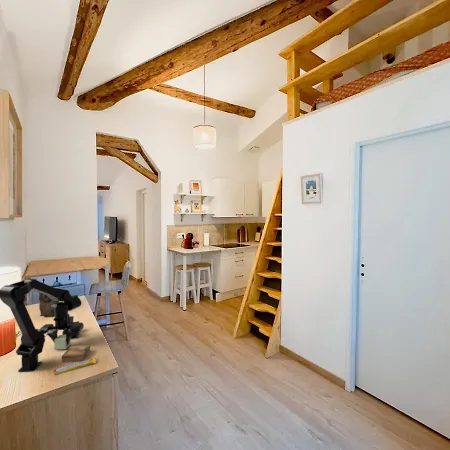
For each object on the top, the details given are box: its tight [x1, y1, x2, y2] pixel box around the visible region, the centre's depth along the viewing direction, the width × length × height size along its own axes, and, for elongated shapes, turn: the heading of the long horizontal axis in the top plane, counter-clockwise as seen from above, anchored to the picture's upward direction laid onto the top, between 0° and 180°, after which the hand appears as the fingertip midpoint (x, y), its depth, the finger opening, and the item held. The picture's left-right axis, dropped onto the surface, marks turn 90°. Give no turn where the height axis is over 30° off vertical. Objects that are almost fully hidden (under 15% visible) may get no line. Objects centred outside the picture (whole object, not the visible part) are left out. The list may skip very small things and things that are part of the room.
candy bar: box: [52, 357, 97, 376], centre depth 119 cm, size 17×4×2 cm, turn 123°
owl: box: [38, 292, 60, 318], centre depth 179 cm, size 13×13×20 cm
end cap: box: [61, 320, 80, 340], centre depth 149 cm, size 10×7×7 cm
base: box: [61, 344, 91, 363], centre depth 128 cm, size 9×9×3 cm
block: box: [54, 334, 71, 350], centre depth 135 cm, size 5×5×5 cm
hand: (62, 344), depth 135 cm, fingers closed on block, 5 cm apart
